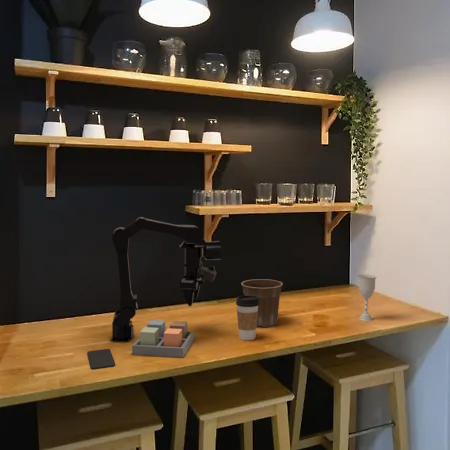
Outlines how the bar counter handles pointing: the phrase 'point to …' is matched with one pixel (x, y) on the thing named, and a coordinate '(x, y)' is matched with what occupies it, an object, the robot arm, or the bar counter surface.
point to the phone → (100, 359)
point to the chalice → (366, 292)
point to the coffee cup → (247, 316)
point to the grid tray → (161, 340)
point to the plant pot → (265, 299)
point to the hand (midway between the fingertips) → (192, 302)
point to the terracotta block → (173, 337)
